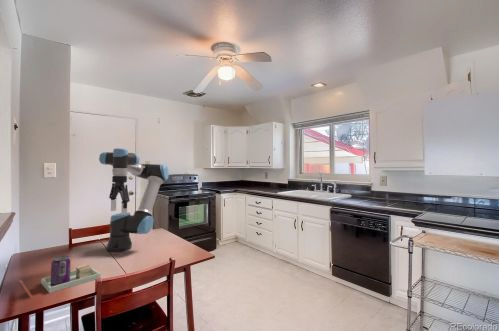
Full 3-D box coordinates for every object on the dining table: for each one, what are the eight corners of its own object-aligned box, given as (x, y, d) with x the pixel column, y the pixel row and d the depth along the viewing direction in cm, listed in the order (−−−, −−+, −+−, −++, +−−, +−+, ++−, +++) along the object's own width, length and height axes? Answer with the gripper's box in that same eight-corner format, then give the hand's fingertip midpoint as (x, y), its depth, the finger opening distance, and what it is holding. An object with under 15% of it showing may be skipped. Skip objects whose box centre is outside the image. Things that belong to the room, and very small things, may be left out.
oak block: (75, 277, 124) (76, 267, 124) (87, 274, 128) (87, 264, 128) (79, 280, 121) (79, 270, 121) (91, 277, 125) (91, 267, 125)
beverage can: (73, 280, 121) (73, 255, 121) (63, 287, 114) (64, 260, 114) (57, 280, 121) (58, 255, 121) (46, 287, 114) (47, 260, 114)
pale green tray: (41, 285, 117) (41, 278, 117) (89, 272, 133) (90, 266, 133) (49, 295, 109) (49, 287, 109) (100, 279, 125) (100, 273, 125)
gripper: (103, 174, 151) (102, 210, 151) (123, 176, 136) (122, 216, 136) (116, 174, 157) (115, 208, 157) (137, 176, 141) (135, 214, 141)
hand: (118, 212), depth 146 cm, fingers open, 13 cm apart
